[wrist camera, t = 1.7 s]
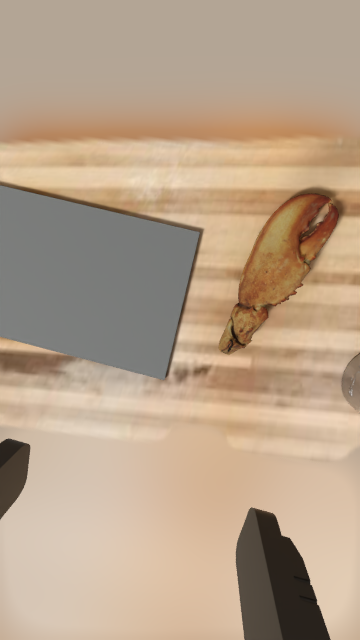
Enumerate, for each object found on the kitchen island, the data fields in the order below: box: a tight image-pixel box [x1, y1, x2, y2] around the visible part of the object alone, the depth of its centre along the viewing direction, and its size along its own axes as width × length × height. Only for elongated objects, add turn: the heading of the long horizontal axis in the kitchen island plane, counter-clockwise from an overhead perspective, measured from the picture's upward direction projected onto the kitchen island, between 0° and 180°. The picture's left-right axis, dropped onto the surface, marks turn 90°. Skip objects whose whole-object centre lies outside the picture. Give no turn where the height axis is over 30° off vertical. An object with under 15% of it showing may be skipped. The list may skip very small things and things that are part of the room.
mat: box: [0, 185, 200, 380], centre depth 31 cm, size 26×19×1 cm
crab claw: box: [219, 194, 339, 355], centre depth 28 cm, size 7×5×20 cm
